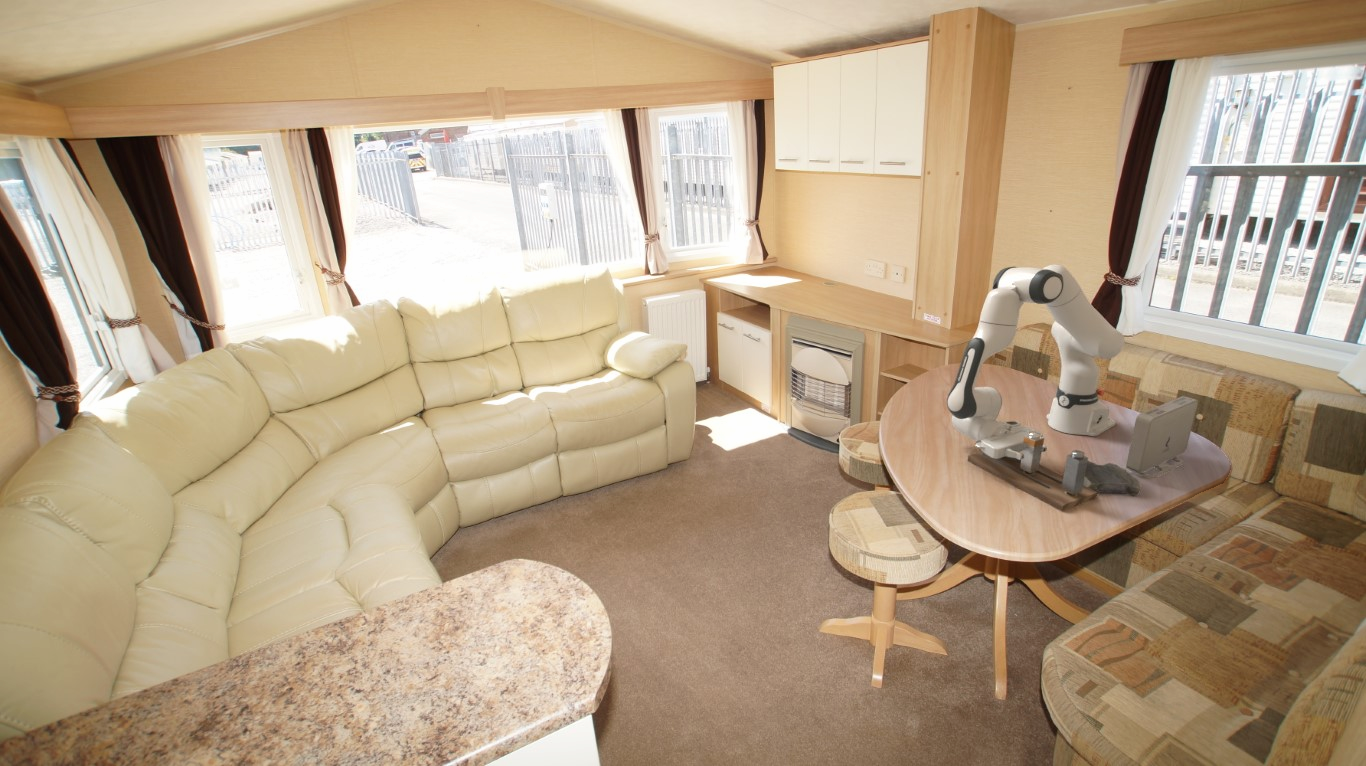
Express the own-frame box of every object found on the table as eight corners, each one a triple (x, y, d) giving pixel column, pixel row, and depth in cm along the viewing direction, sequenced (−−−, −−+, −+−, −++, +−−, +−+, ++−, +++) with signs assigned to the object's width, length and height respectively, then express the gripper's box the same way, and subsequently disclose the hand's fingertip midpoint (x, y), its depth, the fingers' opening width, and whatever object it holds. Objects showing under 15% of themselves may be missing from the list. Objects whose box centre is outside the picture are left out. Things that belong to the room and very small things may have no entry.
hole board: (999, 450, 211) (1000, 443, 210) (1096, 498, 182) (1098, 490, 181) (967, 460, 207) (968, 453, 206) (1061, 511, 177) (1063, 503, 176)
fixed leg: (1069, 489, 184) (1076, 448, 179) (1081, 494, 180) (1088, 453, 176) (1060, 492, 182) (1067, 451, 178) (1072, 498, 179) (1079, 456, 174)
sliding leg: (1028, 467, 196) (1033, 429, 191) (1038, 472, 192) (1044, 434, 188) (1019, 470, 194) (1024, 432, 190) (1029, 475, 191) (1035, 437, 186)
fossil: (1142, 498, 181) (1145, 487, 180) (1080, 494, 185) (1082, 482, 184) (1123, 472, 195) (1125, 461, 193) (1066, 468, 199) (1067, 457, 198)
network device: (1145, 483, 188) (1159, 422, 180) (1114, 471, 195) (1126, 412, 188) (1192, 459, 198) (1207, 401, 191) (1162, 448, 205) (1175, 392, 198)
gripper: (972, 434, 198) (1009, 452, 186) (1020, 419, 205) (1059, 436, 193) (970, 452, 200) (1006, 471, 188) (1018, 437, 207) (1056, 454, 195)
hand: (1033, 453), depth 190 cm, fingers open, 8 cm apart
